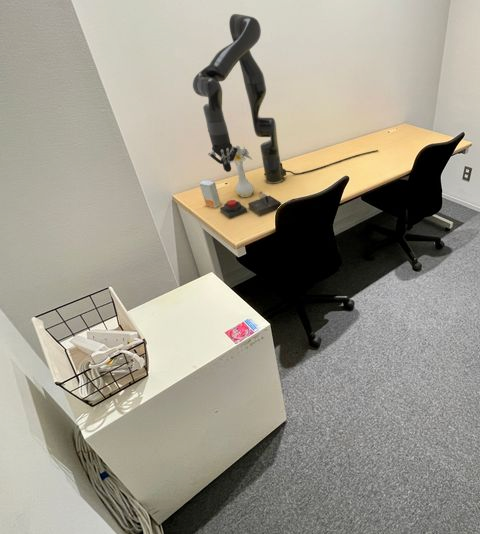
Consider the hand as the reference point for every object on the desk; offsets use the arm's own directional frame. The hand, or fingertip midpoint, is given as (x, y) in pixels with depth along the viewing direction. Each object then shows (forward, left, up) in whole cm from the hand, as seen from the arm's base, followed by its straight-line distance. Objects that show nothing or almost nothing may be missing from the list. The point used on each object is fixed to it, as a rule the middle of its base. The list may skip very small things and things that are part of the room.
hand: (228, 171), depth 147 cm
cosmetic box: (+7, -11, -19) cm, 23 cm away
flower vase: (-10, -11, -19) cm, 25 cm away
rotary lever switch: (-10, +9, -19) cm, 23 cm away
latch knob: (-10, +9, -16) cm, 21 cm away
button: (+3, +2, -16) cm, 16 cm away
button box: (+3, +2, -19) cm, 19 cm away
